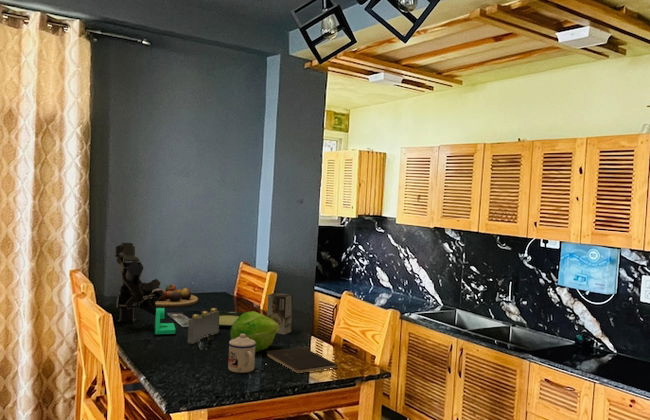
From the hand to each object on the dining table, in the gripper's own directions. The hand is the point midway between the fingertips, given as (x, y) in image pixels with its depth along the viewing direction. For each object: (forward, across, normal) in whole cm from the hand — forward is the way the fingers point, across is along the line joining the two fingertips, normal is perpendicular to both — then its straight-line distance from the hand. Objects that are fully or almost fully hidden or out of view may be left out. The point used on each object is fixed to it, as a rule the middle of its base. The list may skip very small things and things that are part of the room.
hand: (157, 315), depth 227 cm
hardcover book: (+54, -12, -43) cm, 70 cm away
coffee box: (+36, +25, -26) cm, 51 cm away
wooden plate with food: (-18, +55, +28) cm, 64 cm away
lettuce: (+39, -6, -29) cm, 49 cm away
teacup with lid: (+44, -29, -34) cm, 62 cm away
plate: (+17, +30, -7) cm, 35 cm away
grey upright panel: (+20, +1, -11) cm, 23 cm away
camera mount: (+8, 0, +2) cm, 8 cm away
